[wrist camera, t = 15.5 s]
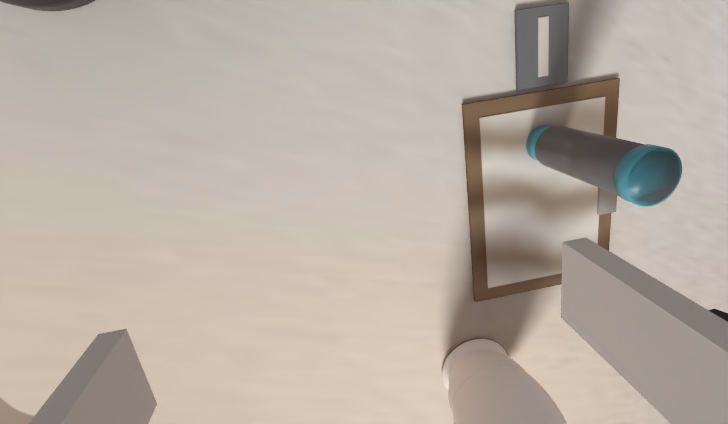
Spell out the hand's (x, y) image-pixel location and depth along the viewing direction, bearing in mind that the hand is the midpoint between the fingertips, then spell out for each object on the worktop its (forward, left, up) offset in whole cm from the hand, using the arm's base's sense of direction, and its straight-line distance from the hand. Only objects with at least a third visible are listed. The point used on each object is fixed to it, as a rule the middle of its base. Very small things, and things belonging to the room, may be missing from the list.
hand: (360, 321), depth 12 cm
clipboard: (+9, +22, -29) cm, 37 cm away
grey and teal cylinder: (+3, +22, -28) cm, 36 cm away
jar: (+29, +13, -29) cm, 43 cm away
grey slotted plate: (-6, +22, -29) cm, 37 cm away
